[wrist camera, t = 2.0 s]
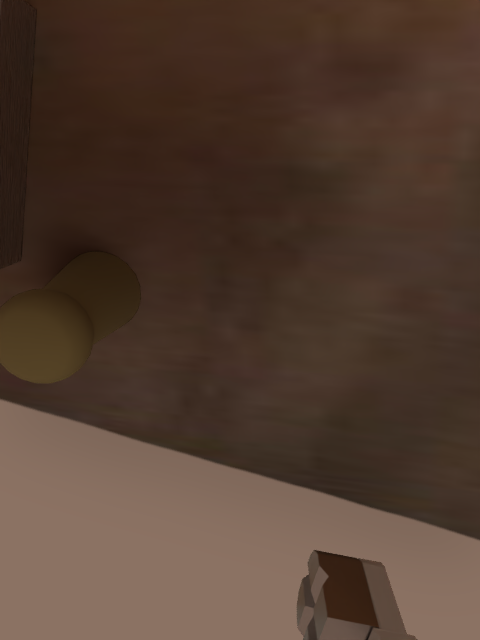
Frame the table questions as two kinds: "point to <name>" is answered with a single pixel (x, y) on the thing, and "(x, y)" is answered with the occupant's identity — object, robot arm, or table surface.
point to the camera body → (14, 121)
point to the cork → (66, 317)
